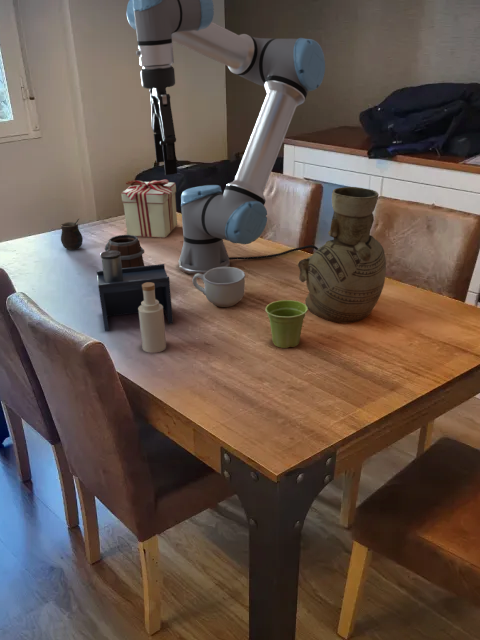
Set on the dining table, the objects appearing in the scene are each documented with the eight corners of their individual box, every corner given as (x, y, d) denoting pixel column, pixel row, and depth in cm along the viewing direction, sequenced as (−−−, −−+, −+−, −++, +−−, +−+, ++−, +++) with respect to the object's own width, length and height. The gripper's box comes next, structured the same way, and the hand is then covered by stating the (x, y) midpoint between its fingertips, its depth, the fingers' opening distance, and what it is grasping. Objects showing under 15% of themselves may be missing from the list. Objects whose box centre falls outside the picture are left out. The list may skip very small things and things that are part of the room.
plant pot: (295, 355, 142) (296, 319, 137) (258, 346, 146) (258, 311, 141) (312, 339, 148) (314, 304, 143) (276, 331, 152) (277, 297, 148)
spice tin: (122, 275, 157) (119, 249, 154) (124, 282, 153) (121, 255, 150) (103, 277, 157) (99, 251, 153) (104, 284, 153) (100, 257, 149)
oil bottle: (164, 340, 151) (159, 278, 142) (167, 351, 146) (162, 287, 138) (141, 343, 150) (134, 281, 141) (143, 354, 145) (136, 290, 137)
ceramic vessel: (291, 300, 168) (295, 181, 151) (371, 297, 167) (384, 178, 150) (299, 331, 152) (305, 203, 135) (388, 328, 151) (404, 199, 135)
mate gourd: (66, 244, 216) (61, 214, 210) (87, 244, 215) (83, 214, 209) (59, 251, 210) (53, 221, 204) (81, 251, 209) (76, 221, 203)
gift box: (123, 240, 217) (116, 188, 208) (136, 224, 232) (131, 175, 223) (171, 240, 214) (167, 187, 205) (182, 224, 229) (178, 174, 220)
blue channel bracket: (167, 308, 167) (163, 263, 160) (172, 323, 159) (169, 277, 152) (103, 315, 165) (96, 270, 158) (104, 331, 157) (98, 285, 150)
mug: (158, 291, 177) (153, 238, 168) (122, 303, 171) (115, 249, 162) (127, 277, 187) (121, 226, 179) (92, 288, 181) (84, 236, 173)
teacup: (251, 297, 170) (251, 269, 166) (235, 313, 162) (235, 283, 158) (204, 291, 175) (203, 263, 171) (187, 306, 167) (185, 277, 163)
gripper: (133, 63, 150) (144, 158, 162) (148, 73, 129) (158, 181, 142) (164, 60, 151) (172, 155, 163) (184, 70, 130) (191, 177, 143)
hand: (166, 167), depth 152 cm, fingers open, 13 cm apart
